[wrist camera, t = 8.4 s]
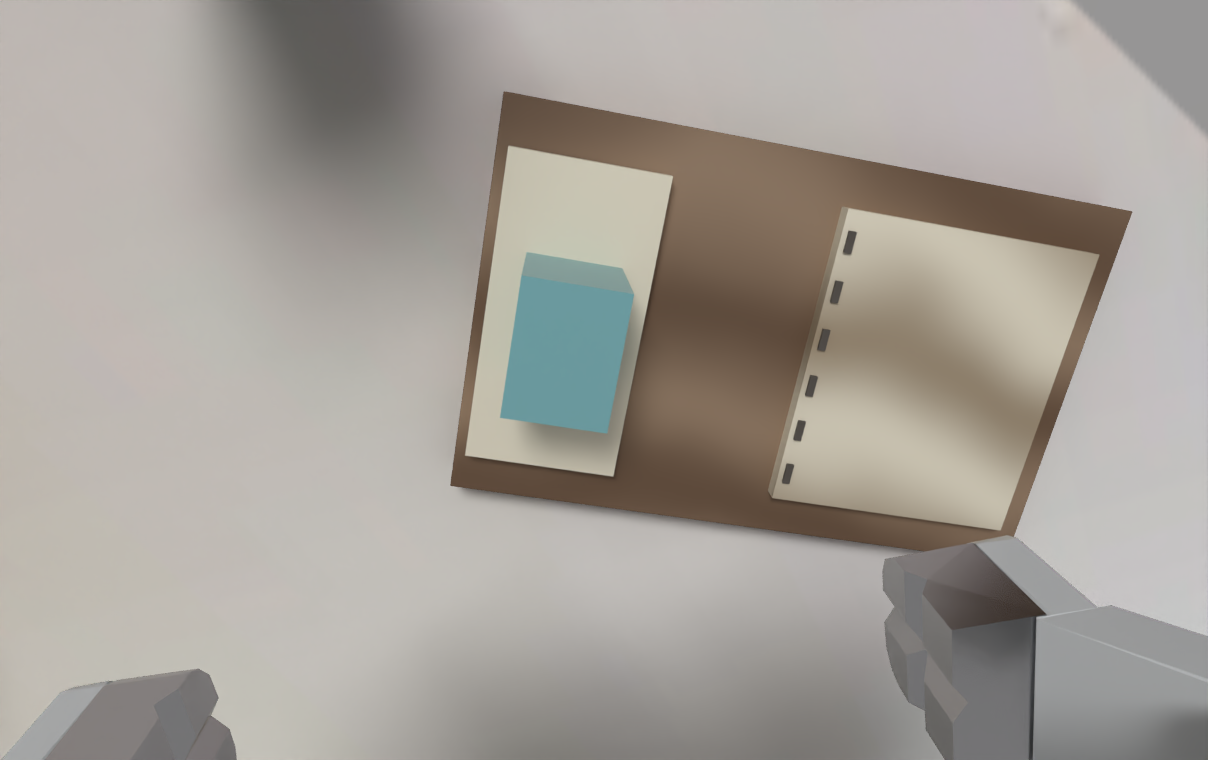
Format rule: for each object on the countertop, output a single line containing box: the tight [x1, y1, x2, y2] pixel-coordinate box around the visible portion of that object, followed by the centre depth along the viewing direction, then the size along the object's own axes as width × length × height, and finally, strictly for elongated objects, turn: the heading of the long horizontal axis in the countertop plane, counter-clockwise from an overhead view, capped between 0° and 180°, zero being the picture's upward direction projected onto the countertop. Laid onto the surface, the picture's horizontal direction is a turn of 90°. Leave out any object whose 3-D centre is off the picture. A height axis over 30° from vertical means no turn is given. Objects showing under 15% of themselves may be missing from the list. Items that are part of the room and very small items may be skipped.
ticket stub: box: [465, 145, 673, 476], centre depth 24 cm, size 10×5×5 cm, turn 170°
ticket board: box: [450, 91, 1132, 551], centre depth 27 cm, size 13×20×2 cm, turn 80°
